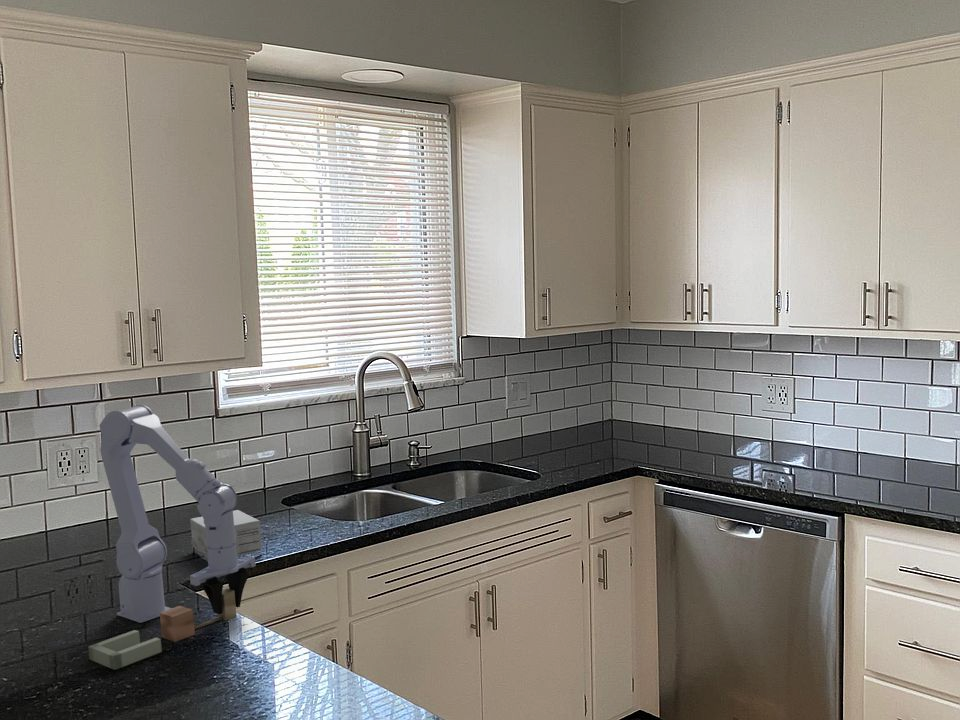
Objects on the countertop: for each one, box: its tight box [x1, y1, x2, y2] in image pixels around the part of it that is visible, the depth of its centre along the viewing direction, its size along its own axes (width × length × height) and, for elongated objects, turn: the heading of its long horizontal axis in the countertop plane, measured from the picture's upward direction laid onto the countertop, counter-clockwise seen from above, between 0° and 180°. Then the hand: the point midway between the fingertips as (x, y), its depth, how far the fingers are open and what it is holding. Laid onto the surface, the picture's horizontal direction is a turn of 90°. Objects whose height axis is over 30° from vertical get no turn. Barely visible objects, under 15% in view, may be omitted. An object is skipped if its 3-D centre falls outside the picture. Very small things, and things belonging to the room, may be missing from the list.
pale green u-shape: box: [88, 629, 163, 671], centre depth 175 cm, size 9×10×2 cm
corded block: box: [159, 588, 238, 643], centre depth 188 cm, size 4×15×6 cm, turn 141°
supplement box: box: [189, 509, 263, 558], centre depth 240 cm, size 17×13×9 cm
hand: (227, 609), depth 193 cm, fingers open, 4 cm apart
